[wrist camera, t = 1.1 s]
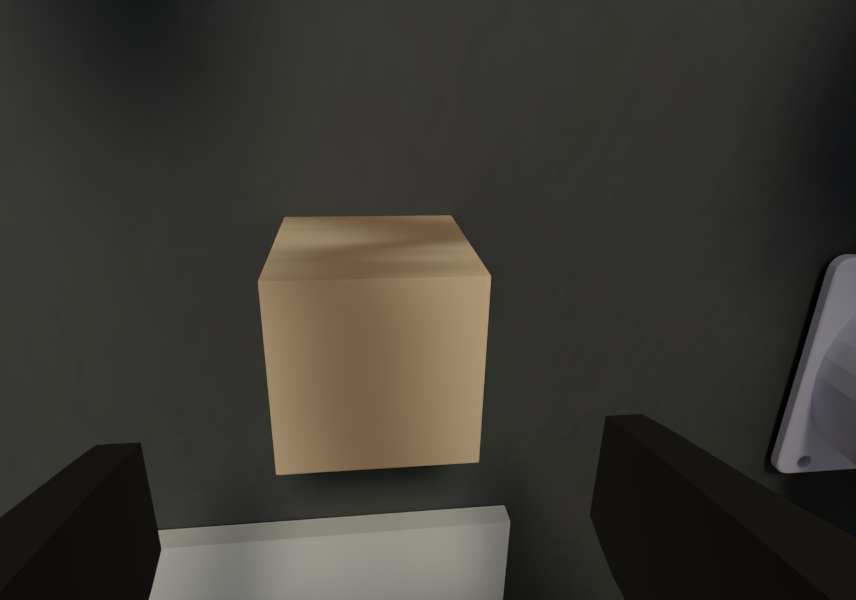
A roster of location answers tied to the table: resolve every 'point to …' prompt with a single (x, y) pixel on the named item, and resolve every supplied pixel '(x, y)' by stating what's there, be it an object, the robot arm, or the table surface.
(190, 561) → the pad
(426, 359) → the birch block
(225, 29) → the table surface
